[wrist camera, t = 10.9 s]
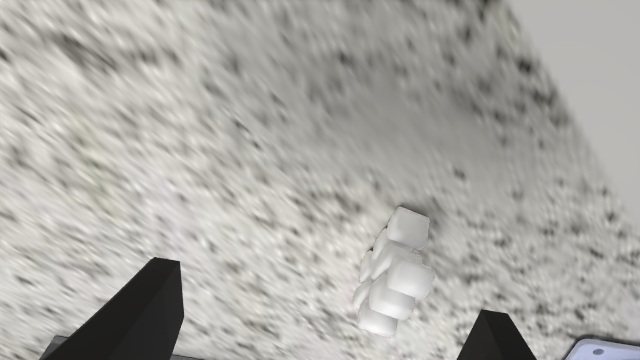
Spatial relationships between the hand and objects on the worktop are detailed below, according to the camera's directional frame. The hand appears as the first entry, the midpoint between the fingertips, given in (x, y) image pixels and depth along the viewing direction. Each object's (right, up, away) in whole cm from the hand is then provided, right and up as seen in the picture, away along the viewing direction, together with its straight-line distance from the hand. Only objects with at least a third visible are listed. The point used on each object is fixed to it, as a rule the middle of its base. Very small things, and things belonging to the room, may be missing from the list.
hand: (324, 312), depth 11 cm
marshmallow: (+3, 0, +11) cm, 12 cm away
